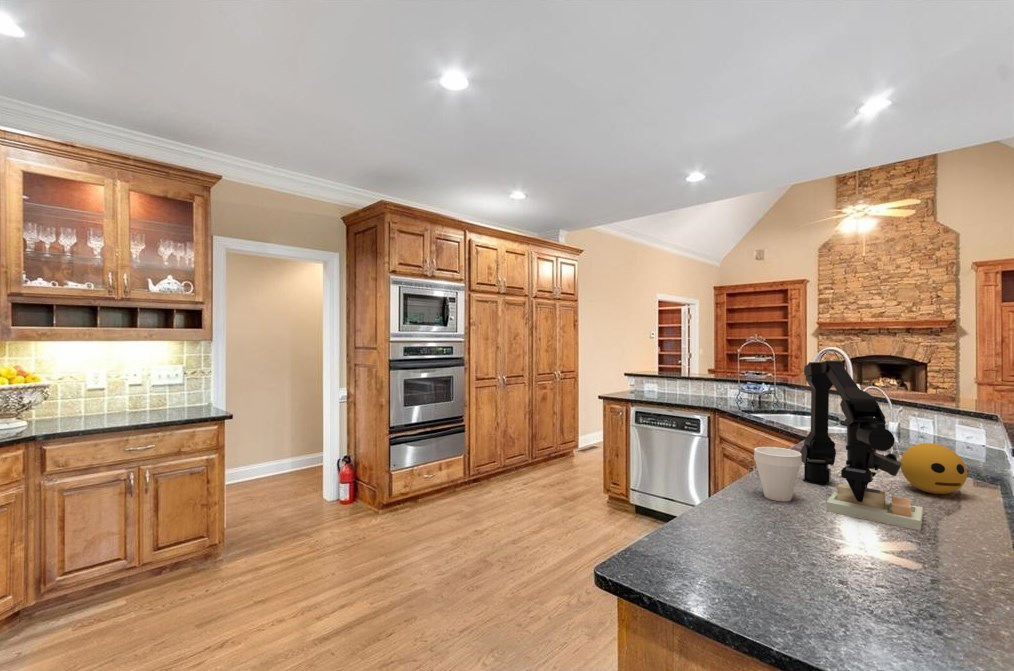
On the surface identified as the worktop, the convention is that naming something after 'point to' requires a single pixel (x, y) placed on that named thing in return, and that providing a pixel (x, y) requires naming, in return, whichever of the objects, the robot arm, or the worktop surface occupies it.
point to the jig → (877, 513)
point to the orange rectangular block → (901, 506)
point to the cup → (777, 471)
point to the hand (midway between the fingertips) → (860, 499)
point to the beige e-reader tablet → (870, 497)
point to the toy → (933, 468)
